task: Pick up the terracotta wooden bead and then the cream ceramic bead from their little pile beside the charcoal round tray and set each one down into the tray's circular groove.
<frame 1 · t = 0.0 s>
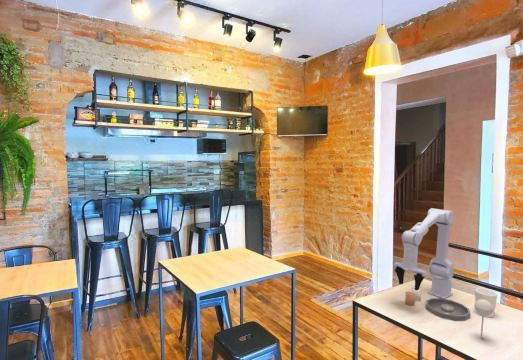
hand: (408, 286, 143), 10 cm above the table, tool pointing down, fingers open, 7 cm apart
white cup: (484, 314, 140), on the table
bead cream: (416, 299, 153), on the table
lollipop: (481, 338, 121), on the table
groove tray: (447, 310, 142), on the table
bead terracotta: (409, 303, 149), on the table
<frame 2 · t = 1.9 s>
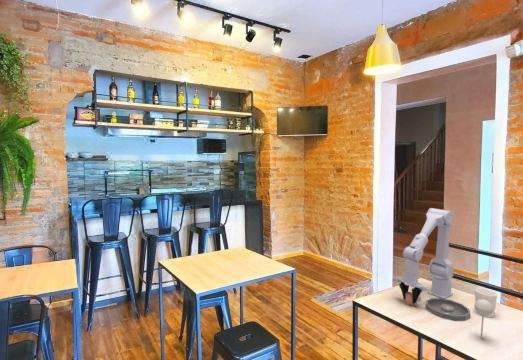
hand: (409, 300, 149), 1 cm above the table, tool pointing down, fingers closed on bead terracotta, 4 cm apart
bead terracotta: (409, 303, 149), on the table, touching gripper
everything else where it was.
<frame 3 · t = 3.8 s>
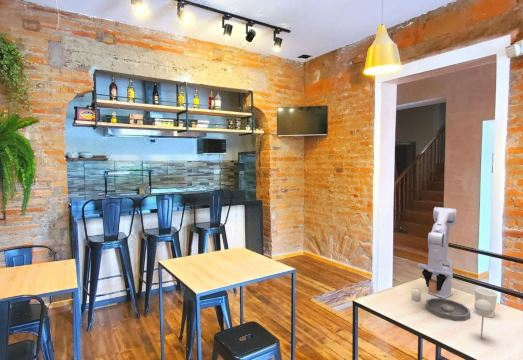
hand: (433, 288, 141), 10 cm above the table, tool pointing down, fingers closed on bead terracotta, 4 cm apart
bead terracotta: (433, 291, 141), point 9 cm above the table, touching gripper
everything else where it was.
when the fingers open (3 cm above the table, at t = 5.9 s): bead terracotta drops 1 cm, resting on groove tray.
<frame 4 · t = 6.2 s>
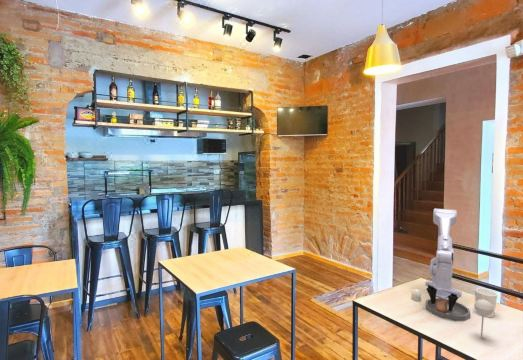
hand: (441, 306, 139), 3 cm above the table, tool pointing down, fingers open, 7 cm apart
bead terracotta: (441, 312, 139), point 1 cm above the table, touching groove tray
everything else where it was.
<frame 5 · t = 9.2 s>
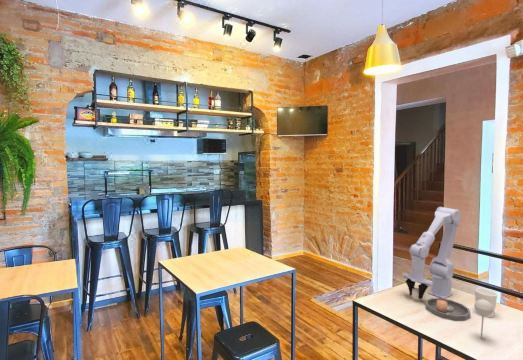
hand: (416, 296, 153), 1 cm above the table, tool pointing down, fingers closed on bead cream, 4 cm apart
bead cream: (416, 299, 153), on the table, touching gripper
everything else where it was.
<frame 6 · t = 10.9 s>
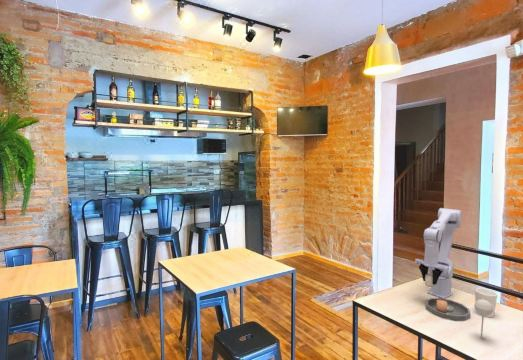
hand: (429, 282, 148), 10 cm above the table, tool pointing down, fingers closed on bead cream, 4 cm apart
bead cream: (429, 285, 148), point 9 cm above the table, touching gripper
everything else where it was.
when the fingers open (3 cm above the table, at t = 12.9 s): bead cream drops 1 cm, resting on groove tray.
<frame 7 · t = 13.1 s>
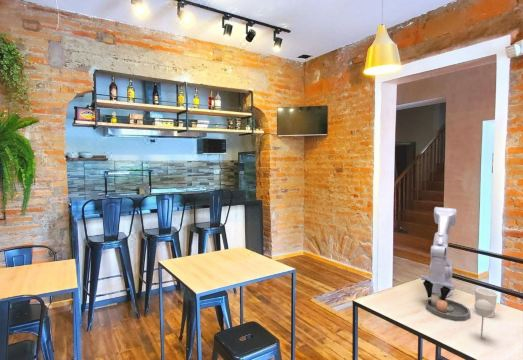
hand: (436, 299, 146), 3 cm above the table, tool pointing down, fingers open, 5 cm apart
bead cream: (435, 305, 146), point 1 cm above the table, touching groove tray
everything else where it was.
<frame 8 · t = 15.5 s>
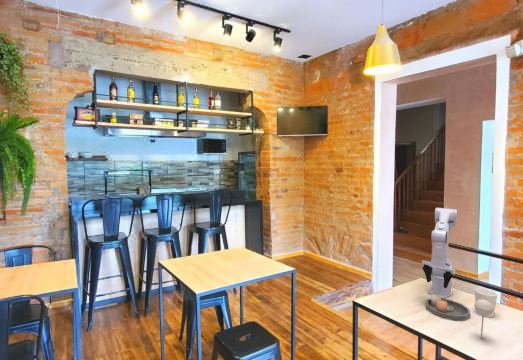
hand: (437, 284, 146), 10 cm above the table, tool pointing down, fingers open, 7 cm apart
nothing on the table moved.
at the end: bead terracotta inside the target area on the groove tray (5.2 cm from its centre), point 0.6 cm above the groove tray's base; bead cream inside the target area on the groove tray (5.1 cm from its centre), point 0.6 cm above the groove tray's base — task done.
